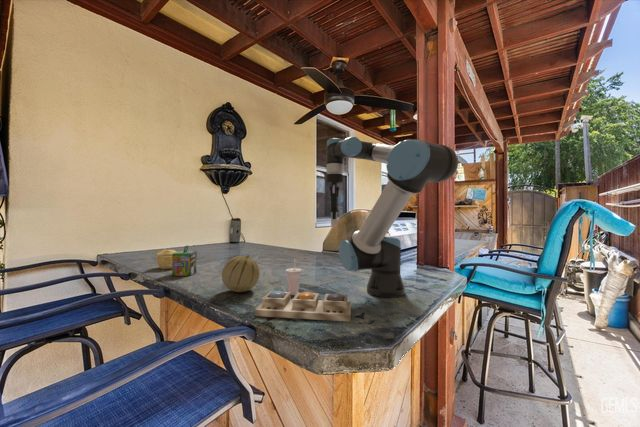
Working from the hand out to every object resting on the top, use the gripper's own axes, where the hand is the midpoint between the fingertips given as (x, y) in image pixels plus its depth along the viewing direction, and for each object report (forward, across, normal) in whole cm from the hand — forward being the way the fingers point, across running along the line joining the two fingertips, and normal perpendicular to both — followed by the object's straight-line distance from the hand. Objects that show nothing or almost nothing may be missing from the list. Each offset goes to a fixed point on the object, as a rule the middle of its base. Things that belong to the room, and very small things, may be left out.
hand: (334, 226), depth 122 cm
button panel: (+26, +34, -7) cm, 44 cm away
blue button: (+24, +32, -17) cm, 44 cm away
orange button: (+24, +32, -7) cm, 41 cm away
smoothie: (+27, +16, -15) cm, 34 cm away
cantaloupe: (+27, +16, -37) cm, 48 cm away
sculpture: (+27, -20, -96) cm, 102 cm away
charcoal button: (+24, +32, +3) cm, 40 cm away
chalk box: (+27, -8, -78) cm, 83 cm away
